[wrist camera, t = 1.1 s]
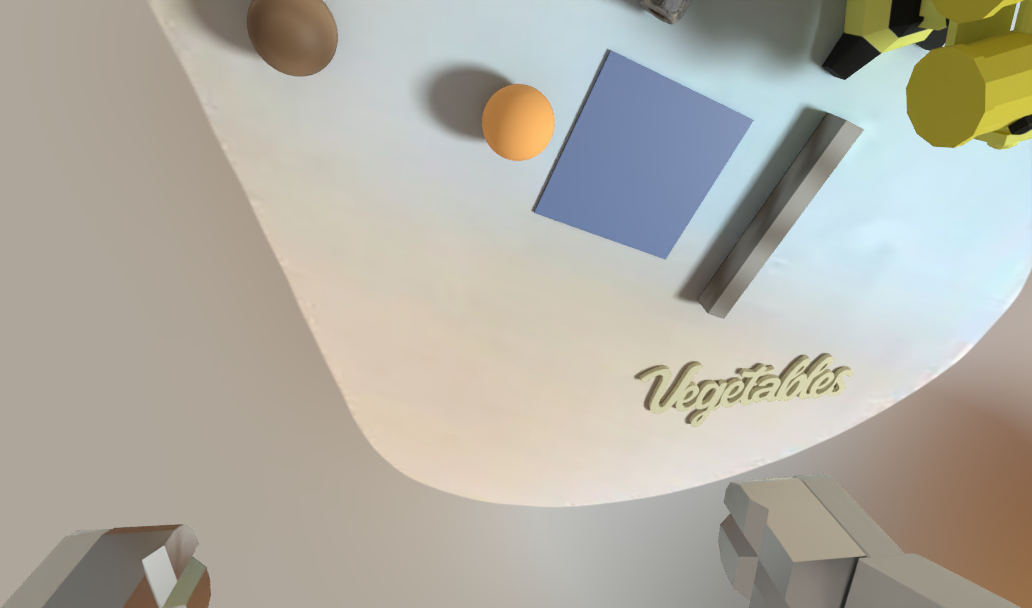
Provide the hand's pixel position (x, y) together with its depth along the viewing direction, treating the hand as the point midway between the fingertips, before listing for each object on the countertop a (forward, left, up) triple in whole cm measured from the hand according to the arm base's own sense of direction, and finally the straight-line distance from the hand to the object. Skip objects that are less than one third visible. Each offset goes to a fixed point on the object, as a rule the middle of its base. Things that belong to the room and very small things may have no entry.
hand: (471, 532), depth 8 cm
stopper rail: (+1, +32, -38) cm, 50 cm away
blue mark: (+1, +18, -38) cm, 42 cm away
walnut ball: (+1, -10, -35) cm, 36 cm away
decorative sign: (+20, +44, -39) cm, 62 cm away
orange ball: (+1, +6, -35) cm, 36 cm away
